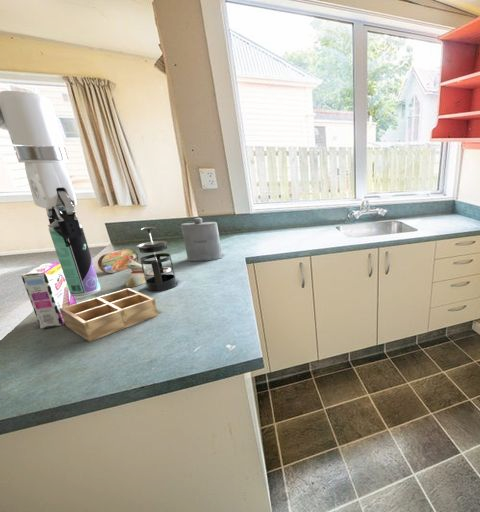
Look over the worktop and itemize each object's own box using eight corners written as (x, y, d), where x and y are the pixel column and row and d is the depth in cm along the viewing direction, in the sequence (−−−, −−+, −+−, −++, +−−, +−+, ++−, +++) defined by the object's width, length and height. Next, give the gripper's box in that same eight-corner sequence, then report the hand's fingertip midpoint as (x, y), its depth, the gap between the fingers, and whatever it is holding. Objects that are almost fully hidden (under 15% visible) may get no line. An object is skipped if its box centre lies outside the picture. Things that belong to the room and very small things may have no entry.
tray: (89, 341, 78) (83, 323, 76) (65, 325, 86) (59, 308, 84) (158, 315, 92) (154, 298, 90) (133, 303, 99) (128, 287, 98)
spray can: (101, 291, 75) (78, 213, 69) (71, 298, 71) (43, 216, 65) (99, 285, 79) (77, 210, 72) (70, 291, 75) (43, 213, 69)
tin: (105, 276, 122) (99, 256, 119) (99, 275, 122) (93, 256, 120) (140, 264, 136) (136, 246, 133) (135, 263, 136) (130, 246, 134)
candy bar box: (64, 325, 86) (44, 272, 81) (40, 329, 83) (18, 275, 78) (80, 309, 95) (63, 261, 90) (58, 312, 93) (40, 263, 88)
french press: (148, 284, 114) (133, 226, 107) (177, 279, 119) (165, 223, 112) (145, 295, 105) (128, 232, 98) (177, 289, 110) (163, 229, 102)
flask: (186, 262, 139) (177, 220, 133) (189, 258, 144) (181, 217, 138) (221, 259, 143) (214, 218, 137) (223, 255, 149) (217, 216, 142)
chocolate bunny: (152, 281, 116) (146, 257, 113) (127, 288, 110) (120, 263, 107) (146, 278, 119) (140, 255, 116) (122, 285, 113) (115, 260, 110)
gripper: (5, 154, 66) (33, 233, 71) (29, 155, 58) (58, 244, 63) (53, 155, 72) (75, 228, 77) (81, 156, 64) (103, 237, 69)
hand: (67, 234), depth 70 cm, fingers closed on spray can, 5 cm apart
